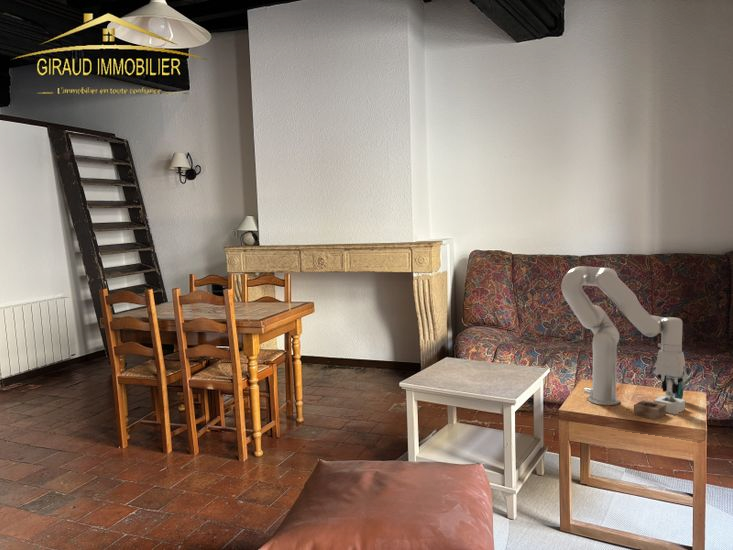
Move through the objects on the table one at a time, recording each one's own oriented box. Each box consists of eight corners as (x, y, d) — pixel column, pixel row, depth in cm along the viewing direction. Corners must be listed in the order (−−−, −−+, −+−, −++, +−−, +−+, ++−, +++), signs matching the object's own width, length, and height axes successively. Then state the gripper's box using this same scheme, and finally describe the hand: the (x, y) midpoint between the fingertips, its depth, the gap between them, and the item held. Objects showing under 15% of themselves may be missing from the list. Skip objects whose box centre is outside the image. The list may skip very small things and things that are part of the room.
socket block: (633, 414, 246) (633, 404, 245) (643, 409, 252) (643, 400, 252) (656, 419, 239) (656, 409, 239) (665, 414, 245) (666, 404, 245)
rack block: (653, 409, 252) (653, 400, 251) (662, 404, 258) (662, 395, 258) (676, 414, 245) (676, 404, 245) (684, 409, 251) (685, 399, 251)
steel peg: (663, 404, 251) (664, 378, 250) (667, 402, 254) (667, 376, 253) (672, 406, 249) (673, 379, 248) (675, 404, 251) (676, 378, 250)
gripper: (646, 346, 253) (645, 390, 254) (689, 352, 241) (688, 398, 242) (654, 343, 258) (653, 386, 259) (696, 349, 246) (695, 394, 247)
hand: (670, 391), depth 251 cm, fingers closed on steel peg, 3 cm apart
